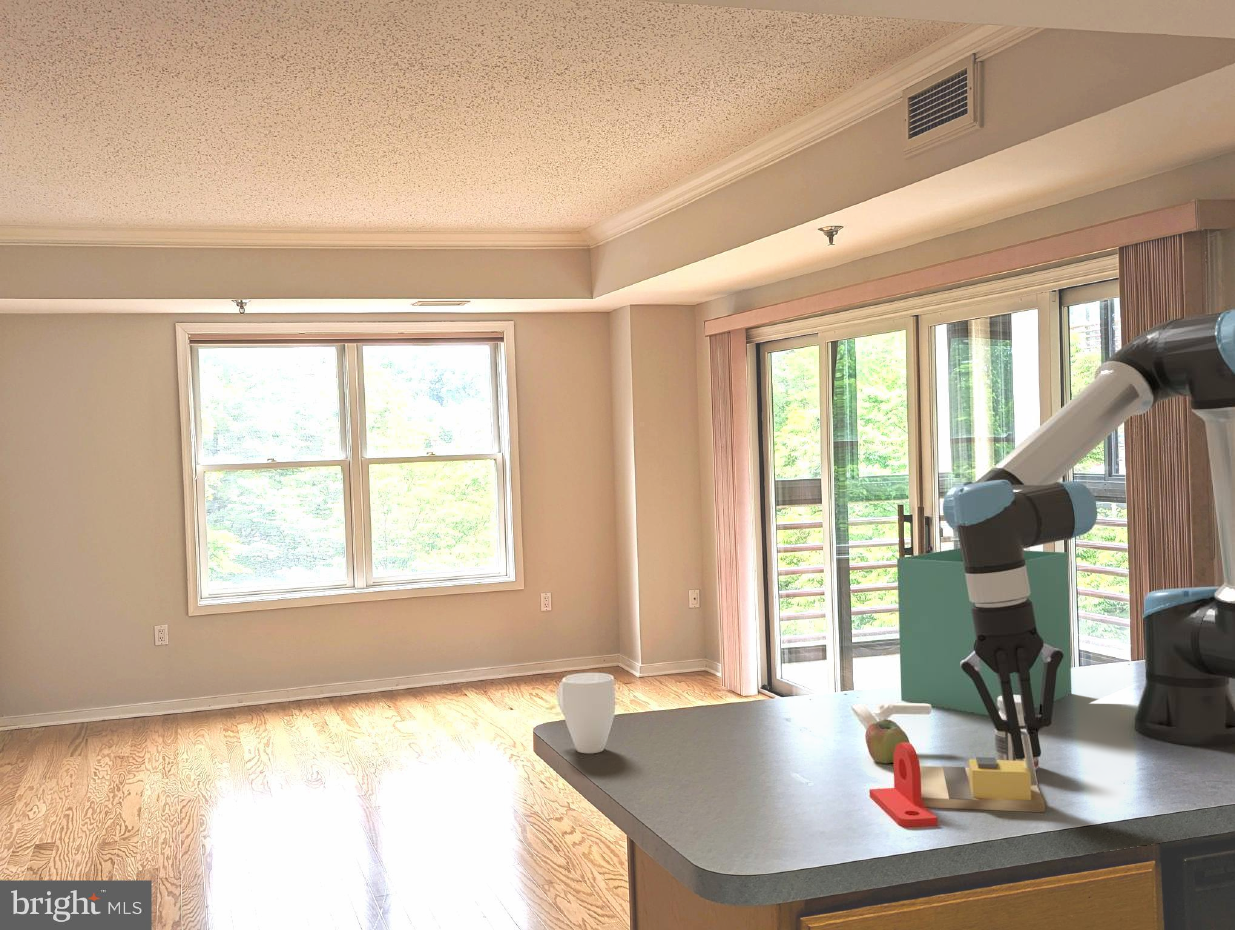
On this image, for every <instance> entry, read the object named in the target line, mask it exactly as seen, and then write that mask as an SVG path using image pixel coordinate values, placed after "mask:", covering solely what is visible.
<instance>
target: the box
mask: <svg viewBox="0 0 1235 930" xmlns="http://www.w3.org/2000/svg"><path fill="white" fill-rule="evenodd" d="M1068 554H1069V553H1068V552H1067V551H1066V552H1062V551H1061V552H1060V551H1045V550H1043V551H1041V550H1024V558H1025V565H1026V570H1027V576H1028V581H1029V587H1030V592H1031V593H1030V595H1029V596H1028V597H1026V598H1027V599H1029V600H1030V601H1032V604H1033V610H1034V616H1035V622H1036V627H1037V632H1038V634H1039V635H1040V637H1041V638H1042V639H1043V642H1044V644H1047V645H1049V646H1051V647H1056V648H1058V649H1059V650H1060V651H1061V652H1062V653H1063V655H1064V656H1063V659H1062V661H1061V663H1060V665H1059V667H1058V668H1057V674H1056V684H1055V693H1054V702H1055V701H1057V700H1060V699H1062V698H1065V697H1067V696H1070V695H1072V671H1071V670H1072V666H1071V665H1072V662H1071V661H1072V660H1071V632H1070V631H1071V629H1070V626H1071V625H1070V591H1069V590H1070V588H1069V562H1068V561H1069V560H1068V559H1069V557H1068ZM896 563H897V564H896V565H897V567H896V568H897V594H898V596H897V598H898V603H897V604H898V630H899V631H898V633H899V635H898V636H899V663H900V665H899V666H900V696H901V697H900V699H901V701H902V702H903V701H904V702H907V703H925V704H930V705H931V707H937V706H938V708H942V707H944V708H943V709H948V708H952V709H951V710H954V709H958V710H957V711H960V710H962V711H961V712H965V711H967V712H966V713H971V712H975V713H974V714H977V713H978V714H977V715H983V714H985V715H984V716H988V715H989V713H988V711H987V709H986V707H985V705H984V703H983V701H982V699H981V697H980V695H979V692H978V690H977V688H976V686H975V684H974V682H973V680H972V679H971V678H970V677H969V676H968V675H967V674H966V673H965V672H964V671H963V670H962V668H961V666H960V661H961V660H962V659H966V658H967V657H968V656H969V655H971V654H972V653H973V652H974V644H975V641H976V635H975V629H974V623H973V617H972V611H971V608H972V607H973V605H975V603H972V602H971V601H970V600H969V594H968V588H967V582H966V576H965V569H964V564H963V558H962V553H961V548H960V547H958V548H953V549H946V550H940V551H936V552H929V553H923V554H915V555H911V556H904V557H899V558H896ZM979 664H980V666H981V669H980V671H979V673H980V675H981V677H982V679H983V681H984V683H985V685H986V687H987V689H988V691H989V693H990V695H991V697H992V700H993V702H994V704H995V706H996V708H997V710H998V712H999V711H1000V708H999V707H998V705H997V701H998V700H997V698H998V697H999V696H1002V694H1001V689H1000V684H999V679H998V676H997V673H995V672H994V671H993V670H992V669H991V668H989V667H988V666H987V665H986V664H985V663H984V662H983V661H982V660H981V659H979ZM1043 667H1044V661H1043V659H1042V652H1040V653H1039V655H1038V657H1037V659H1036V661H1035V663H1034V664H1033V666H1032V668H1031V669H1030V670H1029V672H1030V682H1031V689H1032V696H1033V702H1034V709H1039V704H1040V694H1041V685H1042V676H1043ZM1010 679H1011V686H1012V691H1013V695H1020V690H1019V684H1018V677H1017V673H1015V672H1014V673H1011V674H1010Z"/></svg>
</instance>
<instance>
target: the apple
mask: <svg viewBox="0 0 1235 930" xmlns="http://www.w3.org/2000/svg"><path fill="white" fill-rule="evenodd" d="M877 721H878V722H876V723H873V724H871V725H870V726H869V727H868V728H867V730H866V729H865V736H864V737H865V743H866V747H867V750H868V754H869V755H870V757H871V759H872V760H874V762H877V763H881V764H884V765H885V764H887V765H888V764H891V763H892V764H894V750H895V747H896V745H897V744H898V743H911V742H910V740H909V739H910V738H909V737H908V735H907V733H906V732H905V731H904V730H903V728H902V727H901V726H900V725H899V724H898V723H897V722H895V721H893V720H891V719H887V720H886V719H885V720H881V721H879V720H877Z"/></svg>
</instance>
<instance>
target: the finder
mask: <svg viewBox="0 0 1235 930" xmlns="http://www.w3.org/2000/svg"><path fill="white" fill-rule="evenodd" d="M968 765H969V766H968V768H969V778H970V788H971V791H972V795H973V798H997V799H1022V800H1031V774H1030V770H1028V769H1027V768H1026V766H1025V764H1024V761H1009V760H996V757H988V756H987V757H985V756H976V757H975V758H974V759H973V758H969V759H968Z"/></svg>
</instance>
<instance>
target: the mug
mask: <svg viewBox="0 0 1235 930" xmlns="http://www.w3.org/2000/svg"><path fill="white" fill-rule="evenodd" d="M615 685H616V684H615V678H614V675H612V674H609V673H605V672H579V673H574V674H568V675H565V676H564V677H563V678H562V680H561V682H560V683H559V684H558V687H557V693H556V694H557V702H558V705H559V706H558V707H559V709H560V711H561V713H562V715H563V716H564V721H565V723H566V726H567V730H568V731H569V733H570V735H571V739H572V741H573V744H574V746H575V750H576V751H577V752H578V753H582V754H595V753H596V754H597V753H601V752H603V751H604V749H605V748H606V747H605V746H606V745H607V741H608V737H609V735H610V732H611V728H612V725H613V722H614V719H615V714H616V713H615V712H616V691H615V690H616V688H615V687H616V686H615Z"/></svg>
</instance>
